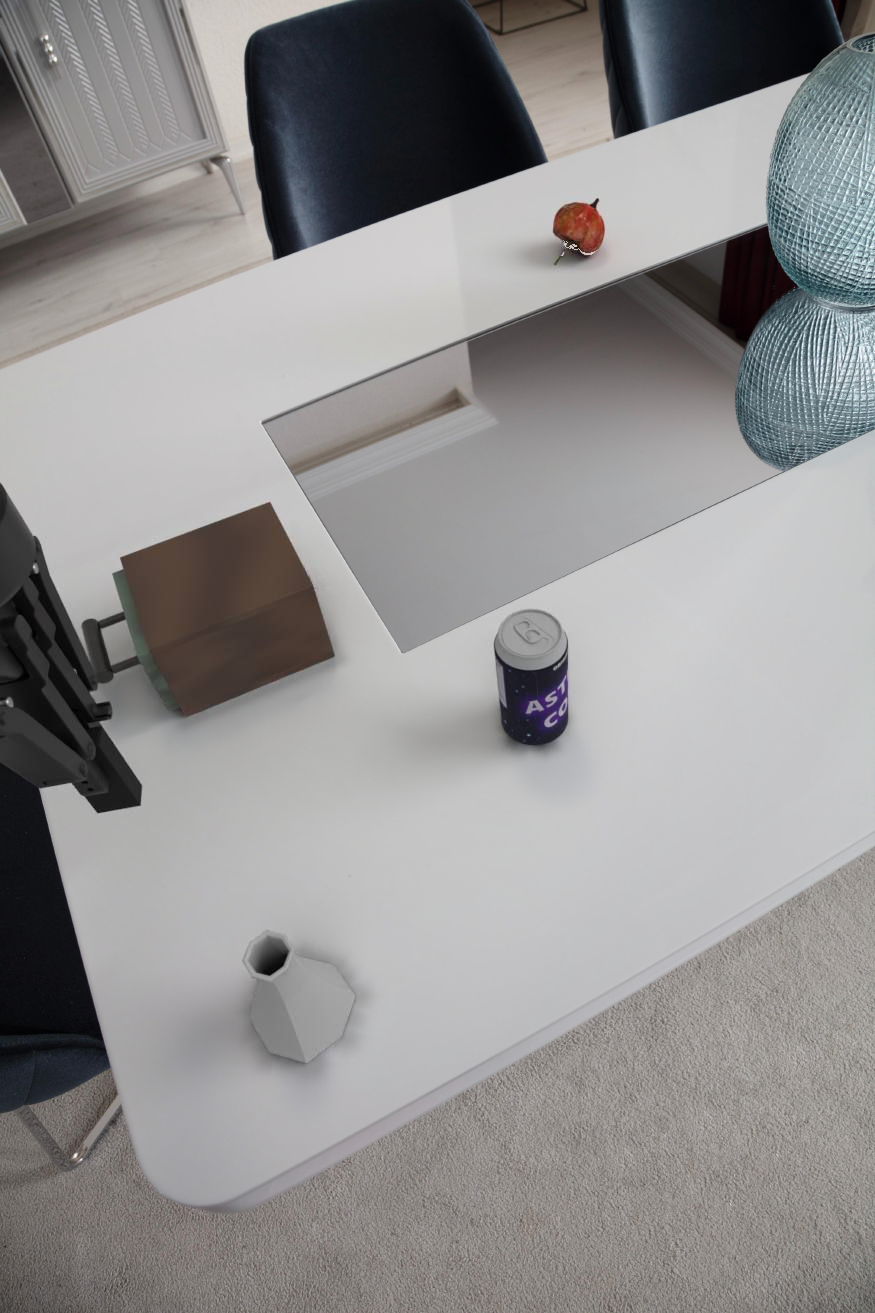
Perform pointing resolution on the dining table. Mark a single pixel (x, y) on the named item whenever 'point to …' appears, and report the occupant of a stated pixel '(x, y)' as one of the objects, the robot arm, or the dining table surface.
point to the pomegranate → (579, 227)
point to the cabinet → (227, 608)
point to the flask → (295, 999)
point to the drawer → (144, 656)
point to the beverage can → (532, 676)
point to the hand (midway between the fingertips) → (120, 799)
